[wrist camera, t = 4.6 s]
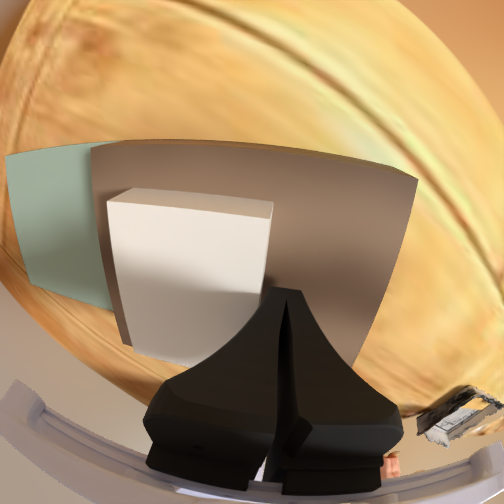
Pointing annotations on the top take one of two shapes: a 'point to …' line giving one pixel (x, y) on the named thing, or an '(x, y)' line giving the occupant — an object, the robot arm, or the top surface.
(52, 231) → the sage mat
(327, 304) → the plate
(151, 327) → the plate
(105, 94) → the top surface
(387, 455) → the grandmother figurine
